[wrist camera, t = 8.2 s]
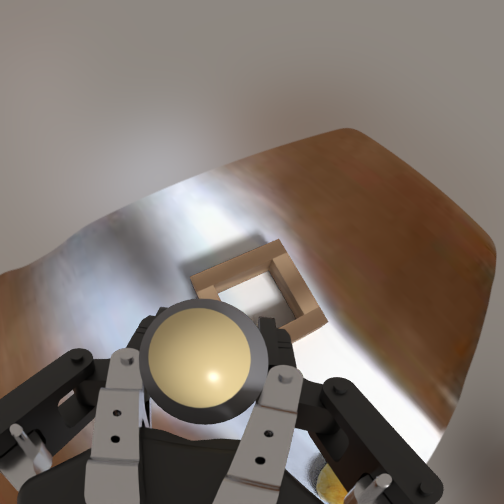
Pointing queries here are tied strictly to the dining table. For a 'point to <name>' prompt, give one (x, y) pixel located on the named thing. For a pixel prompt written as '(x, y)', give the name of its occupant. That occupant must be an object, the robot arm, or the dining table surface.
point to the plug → (203, 361)
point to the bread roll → (330, 486)
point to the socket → (282, 272)
